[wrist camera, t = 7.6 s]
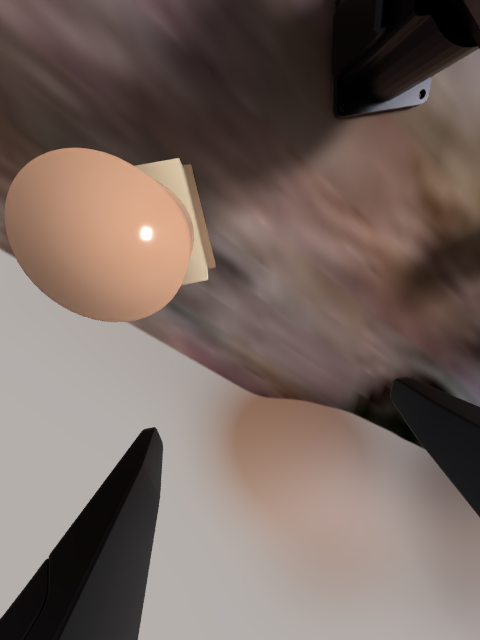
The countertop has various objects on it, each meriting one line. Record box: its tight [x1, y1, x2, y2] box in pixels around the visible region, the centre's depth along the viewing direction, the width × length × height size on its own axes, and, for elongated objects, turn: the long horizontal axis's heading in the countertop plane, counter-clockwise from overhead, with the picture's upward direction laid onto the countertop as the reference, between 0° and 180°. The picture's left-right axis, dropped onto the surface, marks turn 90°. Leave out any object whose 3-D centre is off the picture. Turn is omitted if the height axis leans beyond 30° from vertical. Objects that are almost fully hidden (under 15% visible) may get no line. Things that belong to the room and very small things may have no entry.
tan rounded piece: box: [4, 148, 194, 322], centre depth 9 cm, size 5×5×5 cm
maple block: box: [135, 158, 208, 285], centre depth 12 cm, size 6×6×4 cm
